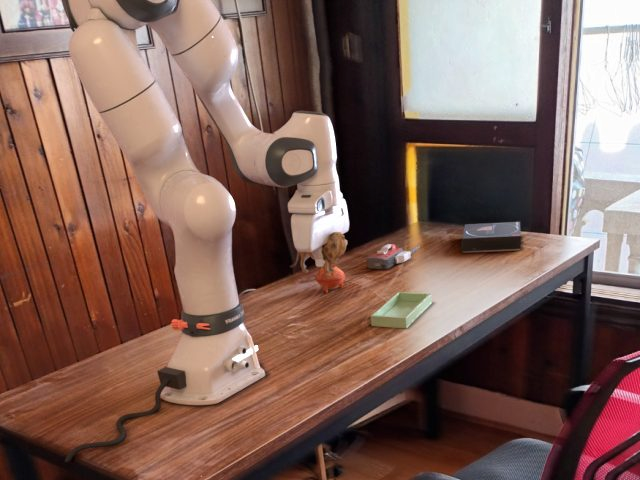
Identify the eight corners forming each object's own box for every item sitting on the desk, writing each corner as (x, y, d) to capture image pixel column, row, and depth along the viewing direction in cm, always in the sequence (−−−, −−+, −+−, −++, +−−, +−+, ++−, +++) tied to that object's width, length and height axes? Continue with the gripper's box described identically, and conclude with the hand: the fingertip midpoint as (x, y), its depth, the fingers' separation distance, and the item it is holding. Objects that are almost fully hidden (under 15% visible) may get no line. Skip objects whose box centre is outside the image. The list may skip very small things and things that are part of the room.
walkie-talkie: (391, 271, 207) (422, 251, 221) (390, 255, 204) (421, 236, 219) (364, 269, 211) (395, 250, 225) (362, 253, 208) (394, 235, 222)
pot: (308, 290, 198) (309, 263, 195) (331, 289, 203) (333, 263, 200) (326, 294, 193) (328, 267, 190) (350, 293, 198) (352, 267, 195)
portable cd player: (463, 238, 231) (463, 224, 229) (519, 235, 228) (520, 221, 226) (460, 252, 217) (460, 238, 215) (520, 250, 215) (520, 235, 212)
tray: (406, 328, 170) (405, 318, 168) (371, 326, 173) (370, 315, 171) (431, 303, 182) (431, 293, 181) (398, 301, 186) (398, 291, 184)
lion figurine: (353, 271, 168) (350, 229, 163) (342, 277, 164) (339, 235, 159) (295, 266, 174) (291, 226, 169) (284, 273, 170) (279, 231, 165)
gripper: (327, 186, 168) (333, 250, 175) (283, 206, 152) (291, 274, 160) (353, 187, 166) (358, 251, 173) (310, 206, 150) (318, 276, 158)
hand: (326, 262), depth 166 cm, fingers closed on lion figurine, 4 cm apart
